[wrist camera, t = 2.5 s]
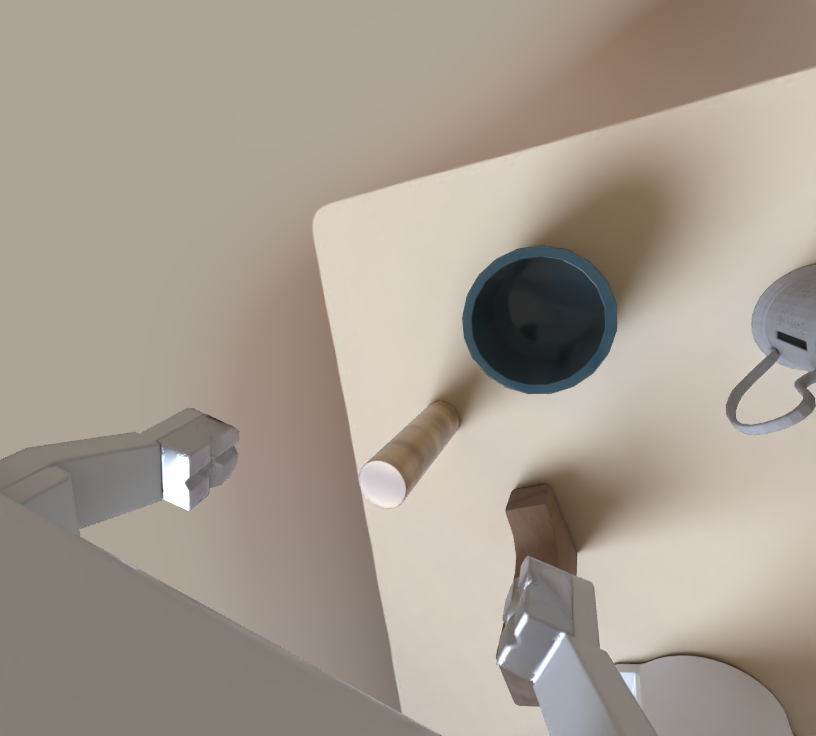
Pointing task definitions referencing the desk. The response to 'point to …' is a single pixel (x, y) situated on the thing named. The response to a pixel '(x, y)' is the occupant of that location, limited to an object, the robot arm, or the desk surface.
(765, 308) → the glass holder
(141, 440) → the robot arm
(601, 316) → the crock
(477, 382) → the desk surface
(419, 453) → the rolling pin
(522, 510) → the wooden block
